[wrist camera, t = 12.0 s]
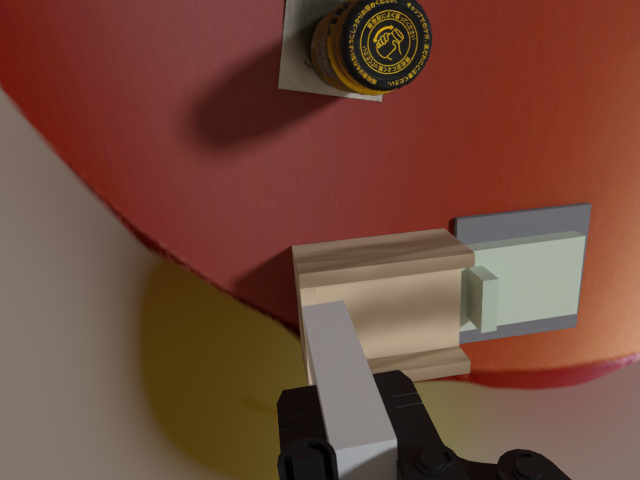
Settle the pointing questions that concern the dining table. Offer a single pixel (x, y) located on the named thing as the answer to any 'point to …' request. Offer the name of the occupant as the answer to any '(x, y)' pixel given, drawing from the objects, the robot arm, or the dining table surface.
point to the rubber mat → (519, 227)
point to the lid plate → (521, 280)
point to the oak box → (392, 297)
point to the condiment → (353, 46)
